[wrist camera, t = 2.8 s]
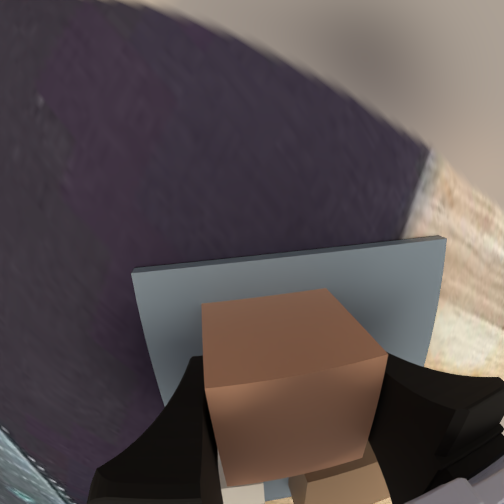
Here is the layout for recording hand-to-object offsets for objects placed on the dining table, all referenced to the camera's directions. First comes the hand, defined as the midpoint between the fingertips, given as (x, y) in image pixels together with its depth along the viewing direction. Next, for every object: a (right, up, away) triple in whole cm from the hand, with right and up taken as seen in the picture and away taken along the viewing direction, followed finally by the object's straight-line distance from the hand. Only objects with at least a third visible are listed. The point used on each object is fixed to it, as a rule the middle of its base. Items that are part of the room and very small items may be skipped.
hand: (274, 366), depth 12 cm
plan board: (+2, -4, +3) cm, 6 cm away
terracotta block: (0, 0, +1) cm, 1 cm away
